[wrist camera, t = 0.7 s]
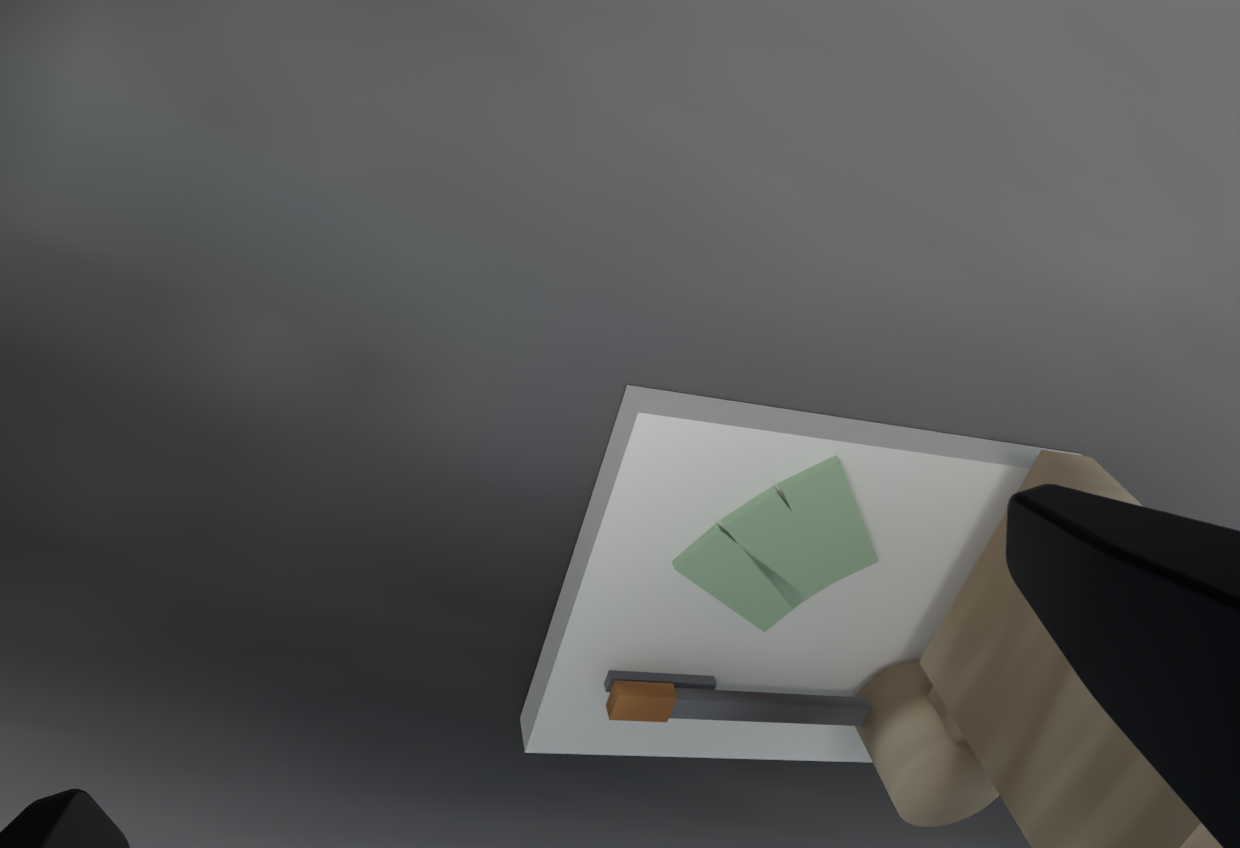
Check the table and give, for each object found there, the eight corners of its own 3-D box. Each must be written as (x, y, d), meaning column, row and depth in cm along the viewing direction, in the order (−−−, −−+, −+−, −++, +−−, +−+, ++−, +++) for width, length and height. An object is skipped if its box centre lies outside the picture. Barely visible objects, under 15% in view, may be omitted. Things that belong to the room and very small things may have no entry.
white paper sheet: (519, 718, 28) (526, 762, 26) (627, 385, 22) (641, 419, 21) (912, 733, 32) (933, 772, 30) (1081, 453, 26) (1115, 486, 25)
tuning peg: (592, 727, 26) (666, 1068, 19) (719, 390, 21) (882, 686, 14) (927, 740, 30) (1095, 1035, 23) (1107, 450, 24) (1395, 715, 17)
